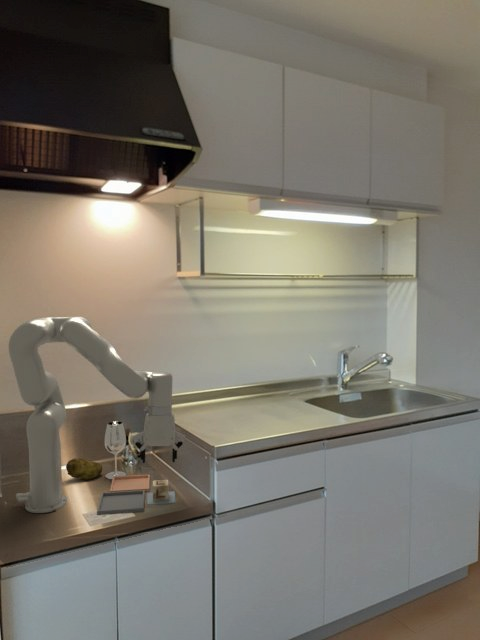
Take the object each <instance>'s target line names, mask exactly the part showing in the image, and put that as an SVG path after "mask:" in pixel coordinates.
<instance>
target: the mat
mask: <svg viewBox="0 0 480 640" xmlns="http://www.w3.org/2000/svg"><path fill="white" fill-rule="evenodd" d="M168 493H169V500H167V501H153V492H147V496H146V497H147V498H146V499H147V503H146V504H147V506H150V505H164V504H165V505H166V504H176V493H175V491H174V490H173V491H168Z"/></svg>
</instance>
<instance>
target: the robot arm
mask: <svg viewBox="0 0 480 640" xmlns="http://www.w3.org/2000/svg"><path fill="white" fill-rule="evenodd" d="M48 343H52V344H53V343H66V344H68V346H70V348H72V349H74V351H76V352H77V353H78V354H79V355H81V356H82V357H83V358H84V359H85V360H87V361H88V362H89V363H91V365H92V366H93V367H95V368H96V370H97V372H99V373H100V374H101V375H102V376H103V377H104V378H105V379H106V381H108V382H109V383H110V384H111V385H112V386H113V387H114V388H116V389H117V390H118V391H119V392H121V393H122V394H123V395H124V396H126V397H128V398H129V399H134V400H135V399H139V398H142V397H143V396H145V394H146V393H148V405H146V406H143V411H146V412H147V413H146V414H145V419H144V425H143V430H142V431H140V432H138V433H137V434H134V435H132V438H131V439H132V441H133V442H134V446H135V447H137V448H138V450H139V451H140V461H141V460H142V464H144V463H146V448H147V447H169V446H170V447H171V448H172V455H171V461H172V463H175V462H176V461H175V460H177V459H178V450H179V449H180V448H181V446H183V445H184V444H183V443H184V442H185V440H186V438H187V437H186V435H185V434H183V433H181V432H179V431H177V430H176V420H175V415H174V413H173V411H172V410H173V409H172V408H173V406H172V404H173V374H172V373H170V372H167V371H153V372H152V371H147V370H133V368H131V367H130V366H129V365H127V363H126V362H124V360H123V359H122V358H121V357H120V355H119V354H118V352H117V351H116V350H117V349H115V347H114V346H113V345H112V343H110V341H108V340H107V339H105V338H104V337H103V336H102V335H101V334H99V333H98V332H97V331H96V330H94V329H93V328H92V325H91V322H90V321H89V320H88V319H87V318H85V317H84V316H64V317H63V316H62V317H60V316H58V317H51V316H50V317H39V318H34V319H29V320H27V321H25V322H23V323H22V324H20V325H19V326H17V328H16V329H14V331H13V333H11V336H10V338H9V341H8V354H9V357H10V361H11V364H12V368H13V373H14V376H15V379H16V383H17V386H18V387H17V388H18V389H19V395H20V397H21V398H22V401H23V402H24V403H25V404H26V405H28V406H32V407H34V410H35V411H33V412H32V414H31V415H30V416H29V417H28V420H27V422H26V437H27V443H28V445H27V446H28V460H29V461H28V463H29V464H28V466H29V491H27V492H20V493H18V492H17V493H16V495H15V496H16V497H15V498H16V500H17V502H18V503H21V502H25V506H24V509H25V510H26V511H27V512H29V513H33V514H46V513H52V512H55V511H57V510H58V509H61V508H63V507H64V506H65V505H67V503H68V497H67V496H65V495H64V494H63V487H62V486H63V482H62V480H63V479H62V446H61V445H62V444H61V438H60V429H61V427H62V426H63V425H64V424H65V422H66V419H67V411H66V410H67V409H66V407H65V402H64V399H63V396H62V393H61V389H60V385H59V382H58V380H57V379H56V377H55V376H54V375H53V374H52V373H50V372H48V371H45V369H44V364H43V361H42V357H41V355H40V354H39V351H38V350H39V349H38V348H39V347H41V346H42V345H45V344H48ZM142 437H143V442H142V443H141V442H140V441H139V439H140V438H142ZM176 437H178V438H180V439H179V441H177V442H176Z"/></svg>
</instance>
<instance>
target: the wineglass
mask: <svg viewBox="0 0 480 640" xmlns="http://www.w3.org/2000/svg"><path fill="white" fill-rule="evenodd" d="M126 445H127V436H126V431H125V427H124V423H123V421H119V420H113V421H109V422H107V424H106V429H105V434H104V447H105V449H106V450H107V452H108V453H110V454H113V456H114V457H113V458H114V471H111V472H108V473H106V475H105V478H106V479H107V480H111V481H112V480H113V477H115V476H127V473H126V472H124V471H118V469H117V468H118V467H117V465H118V463H117V462H118V461H117V460H118V459H117V457H118V454H119V453H121V452H123V450H124V449H125V447H126Z"/></svg>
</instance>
